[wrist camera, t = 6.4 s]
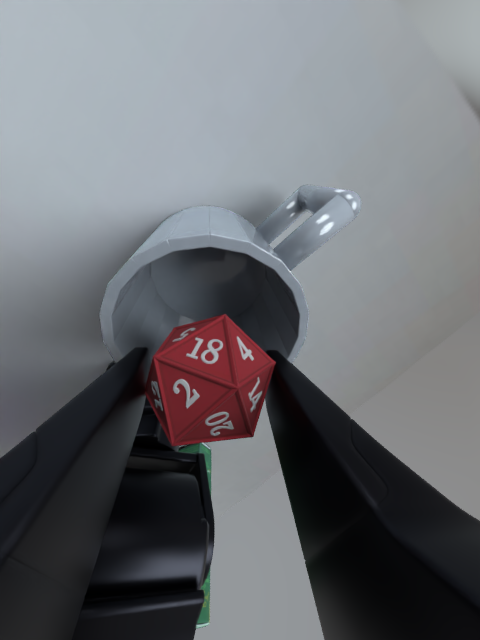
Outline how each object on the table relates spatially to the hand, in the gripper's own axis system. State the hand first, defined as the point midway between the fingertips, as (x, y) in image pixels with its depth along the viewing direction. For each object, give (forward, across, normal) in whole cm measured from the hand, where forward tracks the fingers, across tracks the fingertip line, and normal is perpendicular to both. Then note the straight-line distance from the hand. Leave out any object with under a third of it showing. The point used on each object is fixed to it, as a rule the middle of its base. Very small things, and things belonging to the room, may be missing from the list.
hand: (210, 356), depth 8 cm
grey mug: (+8, -1, -1) cm, 8 cm away
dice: (+1, 0, 0) cm, 1 cm away
